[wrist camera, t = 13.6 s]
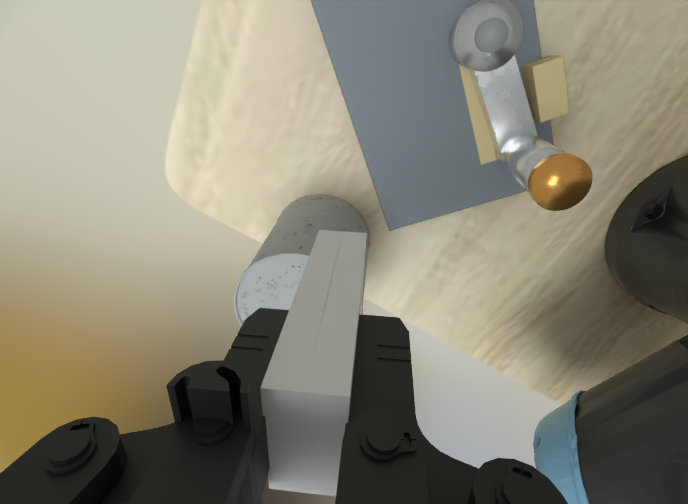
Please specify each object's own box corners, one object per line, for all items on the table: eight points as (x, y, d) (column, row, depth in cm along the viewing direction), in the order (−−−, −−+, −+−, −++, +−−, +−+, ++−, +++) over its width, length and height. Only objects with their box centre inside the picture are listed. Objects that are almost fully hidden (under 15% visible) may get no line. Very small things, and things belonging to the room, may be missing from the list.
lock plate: (560, 175, 35) (588, 195, 30) (389, 225, 38) (389, 250, 34) (512, -176, 25) (542, -230, 20) (290, -64, 29) (271, -87, 24)
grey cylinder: (354, 290, 42) (343, 375, 31) (267, 266, 42) (225, 343, 31) (381, 210, 38) (379, 275, 27) (284, 182, 37) (243, 236, 26)
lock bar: (440, 21, 29) (464, 9, 20) (501, -11, 28) (553, -39, 19) (494, 177, 34) (531, 221, 25) (547, 155, 33) (606, 194, 24)
